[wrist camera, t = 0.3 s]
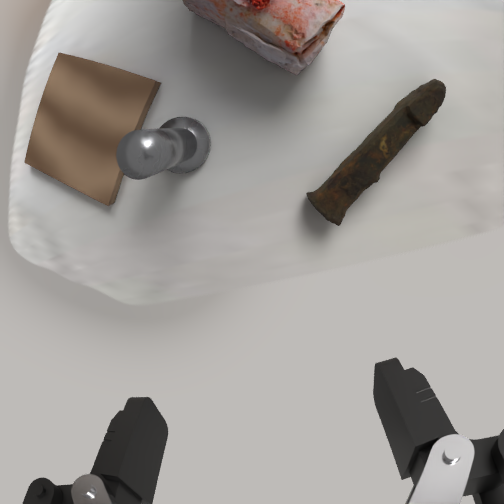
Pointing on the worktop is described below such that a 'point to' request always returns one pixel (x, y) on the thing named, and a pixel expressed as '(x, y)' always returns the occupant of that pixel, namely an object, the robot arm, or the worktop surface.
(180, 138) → the round metal knob
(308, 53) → the food item
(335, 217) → the hand tool
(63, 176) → the walnut board
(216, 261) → the worktop surface
